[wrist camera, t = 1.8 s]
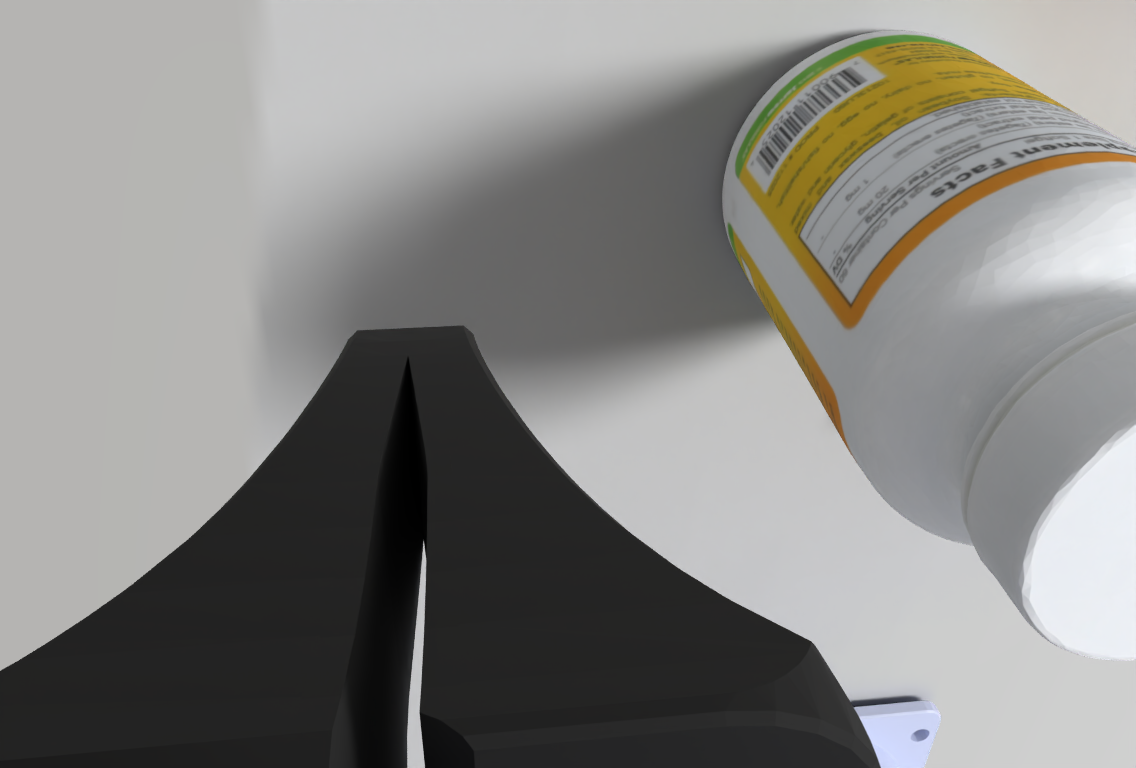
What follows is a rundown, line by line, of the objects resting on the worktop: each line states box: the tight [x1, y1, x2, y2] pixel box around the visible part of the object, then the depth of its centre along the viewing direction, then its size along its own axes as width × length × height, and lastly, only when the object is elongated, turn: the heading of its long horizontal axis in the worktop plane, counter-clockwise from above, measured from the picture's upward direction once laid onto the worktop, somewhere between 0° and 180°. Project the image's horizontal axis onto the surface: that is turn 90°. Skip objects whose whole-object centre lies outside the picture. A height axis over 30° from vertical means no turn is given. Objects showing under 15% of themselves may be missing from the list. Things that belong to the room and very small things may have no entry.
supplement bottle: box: [722, 30, 1136, 661], centre depth 14 cm, size 5×5×10 cm
